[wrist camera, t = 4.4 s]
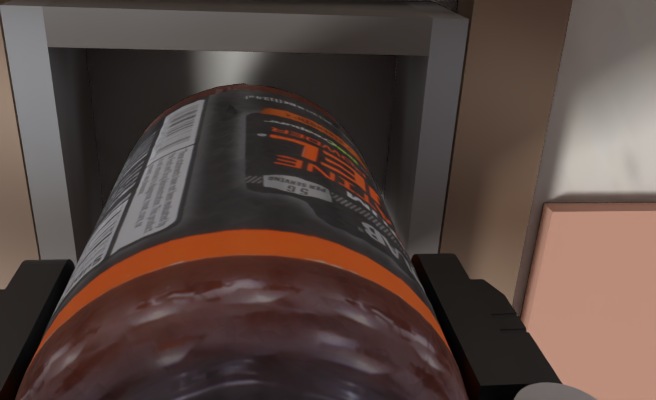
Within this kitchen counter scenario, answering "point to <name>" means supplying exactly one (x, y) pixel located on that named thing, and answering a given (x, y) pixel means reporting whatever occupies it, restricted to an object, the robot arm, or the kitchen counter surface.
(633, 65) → the kitchen counter surface
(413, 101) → the wooden square tray
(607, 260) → the mat
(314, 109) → the supplement bottle
